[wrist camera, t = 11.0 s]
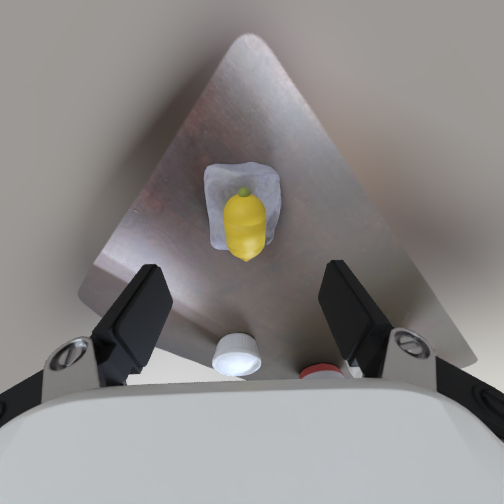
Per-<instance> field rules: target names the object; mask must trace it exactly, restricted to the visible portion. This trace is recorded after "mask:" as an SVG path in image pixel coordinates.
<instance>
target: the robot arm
mask: <svg viewBox="0 0 504 504" xmlns="http://www.w3.org/2000/svg"><path fill="white" fill-rule="evenodd" d="M318 301H319V304H320V306H321V308H322V311H323V313H324V315H325V318H326V320H327V323H328V325H329V327H330V330H331V332H332V334H333V337H334V339H335V341H336V344H337V346H338V348H339V351H340V353H341V356H342V358H343V359H344V360H347V362H348V365H349V367H360V370H361V372H362V373H363V374H362V378H318V379H282V380H251V381H222V382H194V383H168V384H145V385H129V386H128V385H127V384H126V379H127V377H128V375H129V374H140V373H141V371H142V369H143V367H145V366H146V365H147V363H148V361H149V359H150V357H151V354H152V352H153V350H154V347H155V345H156V342H157V340H158V338H159V335H160V333H161V331H162V328H163V326H164V324H165V321H166V319H167V317H168V314H169V312H170V310H171V307H172V304H173V300H172V297H171V294H170V291H169V289H168V286H167V283H166V281H165V278H164V275H163V273H162V270H161V268H160V267H158V266H157V265H156V264H145V265H143V266H142V267H141V269H140V270H139V271H138V273H137V274H136V275H135V276H134V278H133V279H132V280H131V282H130V283H129V284H128V286H127V287H126V288H125V289H124V291H123V292H122V293H121V295H120V296H119V297H118V299H117V300H116V301H115V302H114V304H113V305H112V306H111V308H110V309H109V310H108V311H107V313H106V314H105V315H104V317H103V318H102V319H101V321H100V322H99V323H98V325H97V326H96V327H95V328H94V330H93V331H92V335H91V336H90V337H78V338H75V339H72V340H70V341H68V342H66V343H64V344H63V345H61V346H60V347H59V348H57V349H56V350H55V351H54V352H53V353H52V354H51V355H50V356H49V358H48V359H47V361H46V362H45V366H44V369H43V370H41V371H40V372H38V373H36V374H34V375H32V376H31V377H29V378H27V379H26V380H24V381H22V382H20V383H19V384H17V385H15V386H13V387H12V388H10V389H8V390H7V391H5V392H3V393H1V394H0V504H504V394H503V393H502V392H500V391H499V390H497V389H495V388H494V387H492V386H490V385H488V384H486V383H485V382H483V381H481V380H479V379H477V378H476V377H474V376H472V375H470V374H468V373H466V372H464V371H462V370H461V369H459V368H457V367H455V366H453V365H452V364H450V363H448V362H446V361H444V360H442V359H440V358H439V357H437V356H435V352H434V349H433V348H432V346H431V345H430V344H429V342H428V341H427V340H426V339H425V338H423V337H422V336H421V335H419V334H418V333H416V332H414V331H412V330H409V329H407V328H401V327H398V328H394V327H393V326H392V324H391V323H390V322H389V320H388V319H387V318H386V316H385V315H384V314H383V312H382V311H381V310H380V308H379V307H378V306H377V304H376V303H375V302H374V300H373V299H372V298H371V296H370V295H369V294H368V292H367V291H366V290H365V288H364V287H363V286H362V285H361V283H360V282H359V281H358V279H357V278H356V277H355V275H354V274H353V273H352V271H351V270H350V269H349V267H348V266H347V265H346V263H345V262H344V261H343V260H331V261H330V263H328V264H327V266H326V270H325V273H324V277H323V280H322V284H321V287H320V291H319V295H318Z"/></svg>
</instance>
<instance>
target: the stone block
mask: <svg viewBox="0 0 504 504" xmlns="http://www.w3.org/2000/svg"><path fill="white" fill-rule="evenodd" d="M204 174H205V175H204V186H205V197H206V204H207V211H208V216H209V222H210V240H211V245H212V246H213V247H214V248H216V249H220V250H229V249H228V247H227V244H226V237H225V229H224V220H223V211H224V207H225V205H226V203H227V202H228V200H229V199H230V198H232V197H233V196H235V195H237V194H238V191H239V189H240V188H242V187H246V188H247V189H248V190H249V192H250V194H252V195H255V196H256V197H258V198H259V199H260V200H261V201H262V203H263V205H264V207H265V210H266V235H265V244H269V243H270V242H271V240H272V239H273V237H274V228H275V227H276V225H277V221H278V218H279V213H280V208H281V195H280V191H281V190H280V186H279V185H280V182H279V180H280V177H279V175H278V173H277V172H276V171H275V170H274V169H273V168H271V167H270V166H267V165H262V164H258V163H255V162H247V163H241V164H234V165H230V164H214V165H209V166H207V168H206V171H205V172H204ZM264 246H265V245H264Z"/></svg>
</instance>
